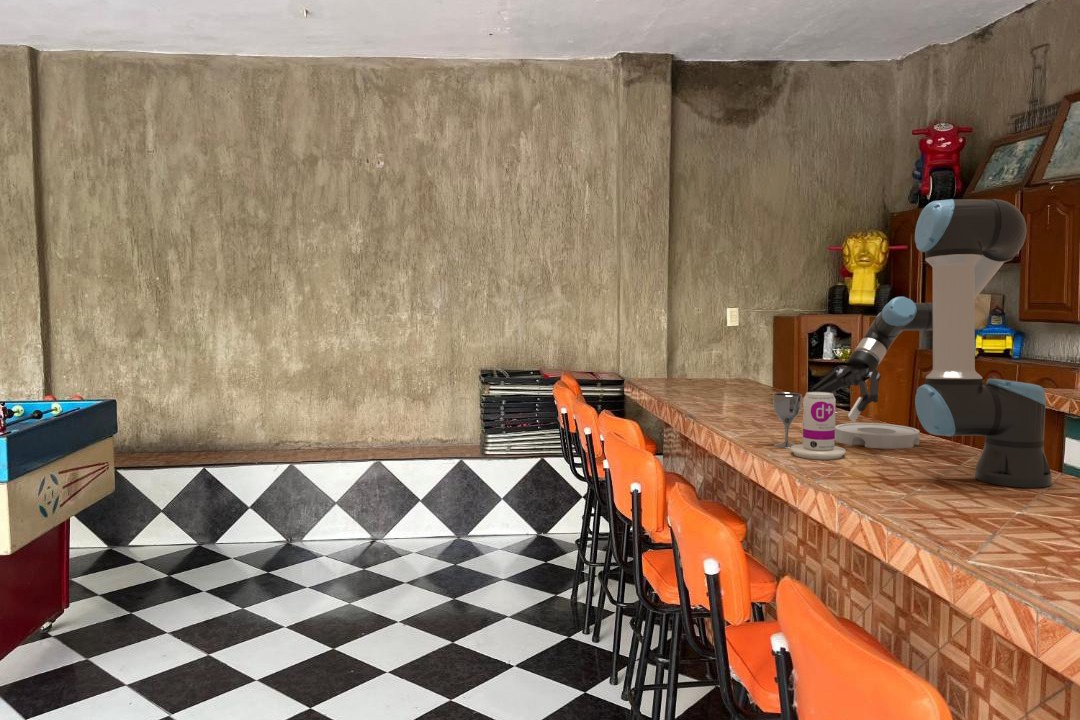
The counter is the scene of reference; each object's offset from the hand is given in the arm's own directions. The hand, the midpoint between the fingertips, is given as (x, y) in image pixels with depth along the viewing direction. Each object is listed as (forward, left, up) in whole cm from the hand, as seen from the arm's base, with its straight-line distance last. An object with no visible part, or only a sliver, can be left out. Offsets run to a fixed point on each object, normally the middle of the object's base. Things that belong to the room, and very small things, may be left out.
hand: (829, 416), depth 216 cm
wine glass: (+11, +9, -10) cm, 17 cm away
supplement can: (-3, +4, -9) cm, 10 cm away
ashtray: (+19, -19, -11) cm, 29 cm away
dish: (-3, +4, -10) cm, 11 cm away
